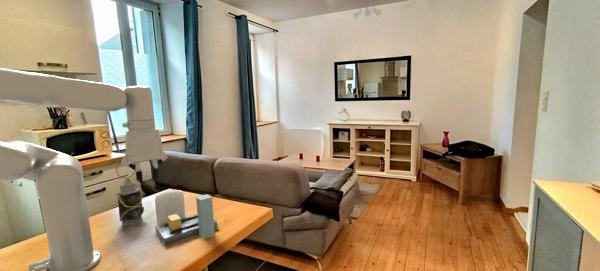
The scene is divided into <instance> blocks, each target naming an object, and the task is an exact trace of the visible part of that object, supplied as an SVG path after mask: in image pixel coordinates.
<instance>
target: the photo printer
mask: <svg viewBox="0 0 600 271" xmlns="http://www.w3.org/2000/svg"><path fill="white" fill-rule="evenodd" d="M154 204H155V216H156V224H157V225H161V224H164V223H168V216H170V215H174V214H177V215H178V216H179V217H180V218H181V219H182V218H185V217H186V208H185V196H184V192H183V191H182V190H181V189H179V190H178V189H171V190H166V191H163V192H160V193H157V194H156V195H155V199H154ZM157 225H156V226H157Z"/></svg>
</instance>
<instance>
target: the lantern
mask: <svg viewBox="0 0 600 271" xmlns="http://www.w3.org/2000/svg"><path fill="white" fill-rule="evenodd" d="M120 164H121V162H120V163H119V164H117V165H116V166H117V167H116V174H117V176H118V177H119V178H121V179H124V177H123V176H120V175H119V173H118V169H119V168H118V167H119V166H120ZM132 164H134V163H132ZM121 165H122V164H121ZM133 171H134V172H133V173H132V174H131V175H130V176H126V177H125V180H123V181H122V182H120V183H119V185H118V186H119V189H120V190H117V192H116V193H115V196H117V204H118V214H119V215H118V216H119V221H120V222H121V225H122V227H124V228H131V227H132V228H133V227H135V226H138V225H140V224H142V222H143V214H144V211H145V207H144V206H143V193H142V191H141V189H140V187H138V186H137V181H135V180H132V179H130V178H131V177H132V176H134V175H135V174H136V171H135V170H133Z"/></svg>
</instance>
